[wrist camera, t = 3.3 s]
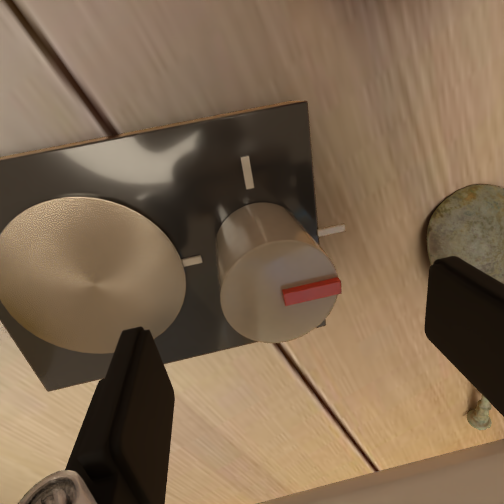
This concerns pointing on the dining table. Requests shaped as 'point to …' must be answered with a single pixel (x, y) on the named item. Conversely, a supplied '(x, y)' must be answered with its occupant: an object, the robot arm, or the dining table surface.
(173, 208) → the hob
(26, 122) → the dining table surface
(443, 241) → the soupspoon
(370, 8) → the dining table surface
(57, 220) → the burner ring
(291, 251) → the hob knob
